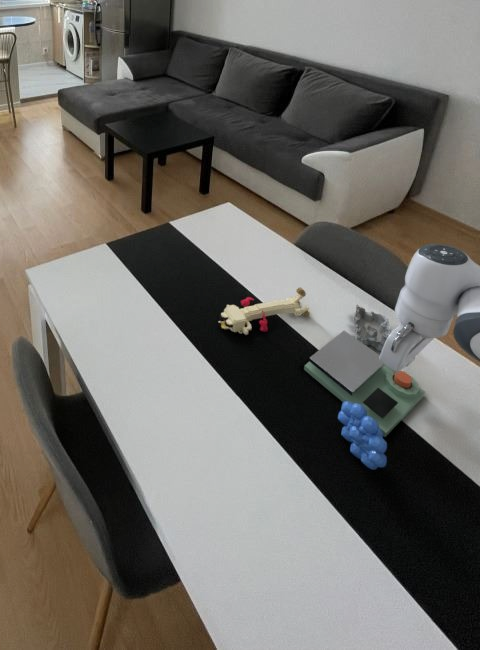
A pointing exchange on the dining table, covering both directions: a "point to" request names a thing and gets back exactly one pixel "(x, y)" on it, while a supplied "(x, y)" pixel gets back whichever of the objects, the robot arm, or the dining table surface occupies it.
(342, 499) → the dining table surface
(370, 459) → the grapes
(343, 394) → the scale
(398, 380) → the button
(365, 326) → the egg carton
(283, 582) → the dining table surface
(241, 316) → the beige blocky toy
